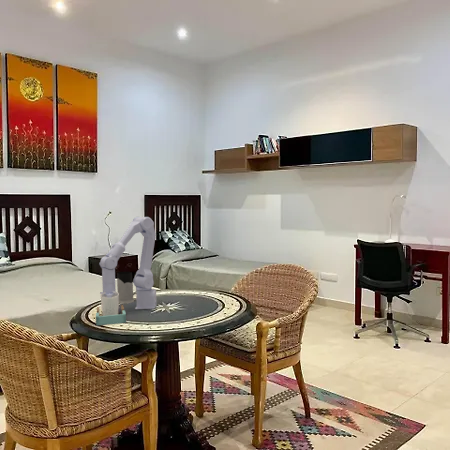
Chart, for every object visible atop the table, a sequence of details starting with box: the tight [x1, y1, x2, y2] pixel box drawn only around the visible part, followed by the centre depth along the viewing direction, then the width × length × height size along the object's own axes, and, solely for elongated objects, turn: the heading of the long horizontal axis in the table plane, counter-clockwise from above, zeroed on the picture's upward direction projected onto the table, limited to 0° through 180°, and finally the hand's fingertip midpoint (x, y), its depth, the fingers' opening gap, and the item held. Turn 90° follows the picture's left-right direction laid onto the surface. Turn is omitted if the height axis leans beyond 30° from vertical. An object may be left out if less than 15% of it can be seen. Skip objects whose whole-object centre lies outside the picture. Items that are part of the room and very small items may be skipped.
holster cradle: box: [96, 304, 125, 314], centre depth 206 cm, size 12×8×3 cm, turn 105°
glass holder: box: [116, 271, 136, 305], centre depth 232 cm, size 9×14×15 cm, turn 127°
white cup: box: [100, 291, 120, 316], centre depth 200 cm, size 8×8×10 cm
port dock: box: [95, 309, 127, 326], centre depth 193 cm, size 12×8×4 cm, turn 105°
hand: (109, 311), depth 205 cm, fingers closed, pressing on white cup
